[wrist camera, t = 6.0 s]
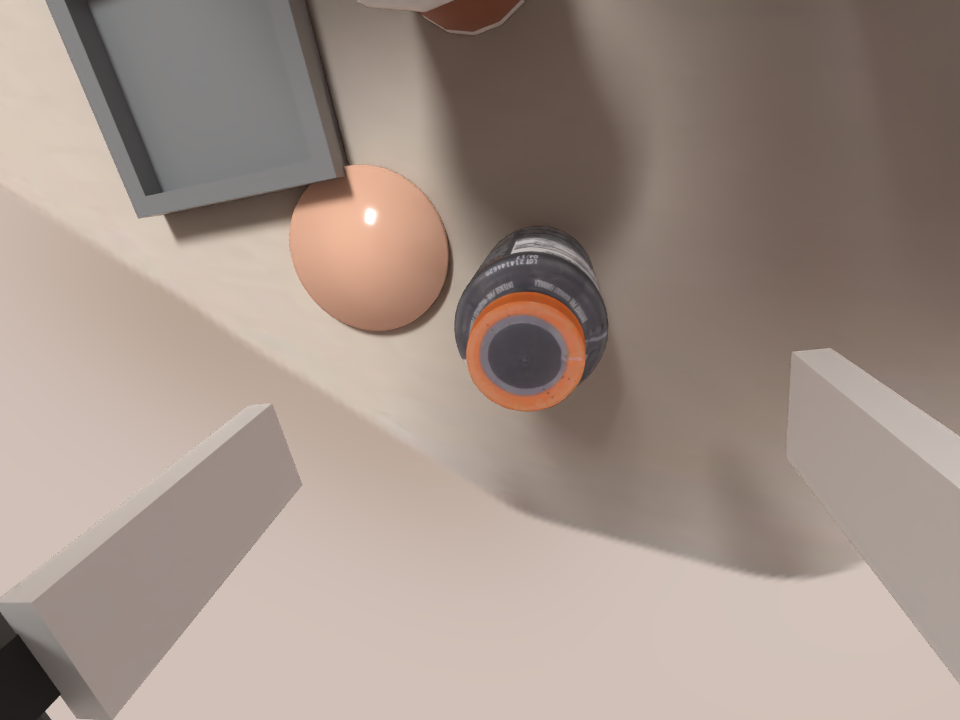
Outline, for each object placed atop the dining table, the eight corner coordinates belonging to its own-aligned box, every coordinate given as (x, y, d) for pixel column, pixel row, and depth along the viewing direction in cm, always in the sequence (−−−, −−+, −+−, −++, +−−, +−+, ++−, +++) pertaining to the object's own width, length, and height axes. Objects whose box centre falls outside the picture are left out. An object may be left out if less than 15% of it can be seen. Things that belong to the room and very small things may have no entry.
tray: (62, -35, 24) (24, -49, 22) (275, -111, 21) (251, -134, 19) (163, 214, 28) (138, 218, 26) (350, 176, 25) (336, 177, 24)
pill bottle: (514, 348, 28) (486, 461, 17) (464, 257, 26) (401, 322, 16) (612, 304, 26) (645, 401, 15) (564, 203, 24) (567, 236, 14)
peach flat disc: (273, 182, 26) (267, 182, 26) (429, 149, 24) (426, 148, 24) (322, 335, 29) (317, 339, 29) (463, 317, 27) (461, 320, 27)
